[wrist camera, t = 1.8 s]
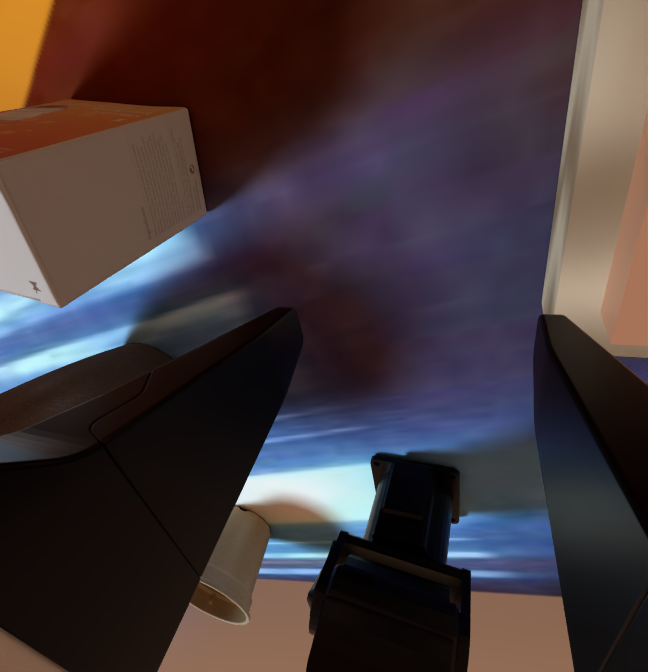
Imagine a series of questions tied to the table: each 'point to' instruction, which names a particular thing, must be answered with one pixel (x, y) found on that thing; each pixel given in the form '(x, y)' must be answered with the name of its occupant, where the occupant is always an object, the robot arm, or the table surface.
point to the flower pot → (233, 569)
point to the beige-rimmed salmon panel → (630, 262)
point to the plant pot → (75, 385)
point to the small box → (90, 192)
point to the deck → (598, 162)
